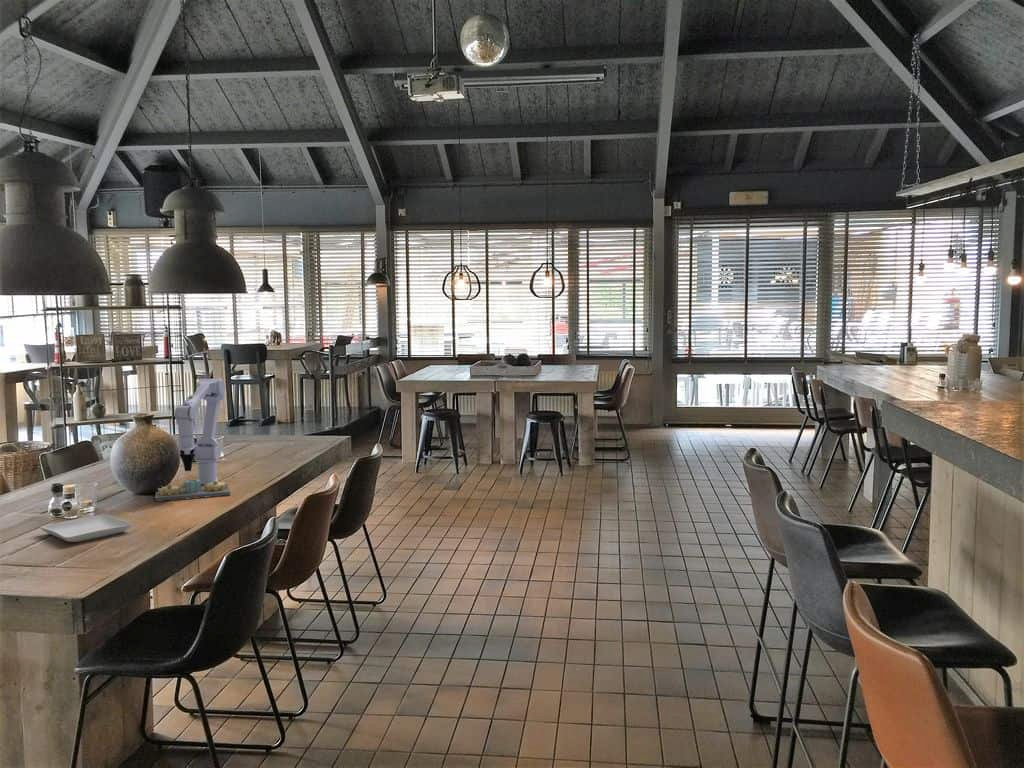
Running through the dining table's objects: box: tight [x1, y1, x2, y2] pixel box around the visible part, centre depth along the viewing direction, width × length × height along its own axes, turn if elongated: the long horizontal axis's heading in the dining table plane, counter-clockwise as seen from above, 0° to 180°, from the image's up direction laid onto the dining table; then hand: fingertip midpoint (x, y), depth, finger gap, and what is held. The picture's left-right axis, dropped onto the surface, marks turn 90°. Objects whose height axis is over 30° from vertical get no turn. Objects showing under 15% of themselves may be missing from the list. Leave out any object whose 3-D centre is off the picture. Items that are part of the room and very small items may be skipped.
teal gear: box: [184, 478, 202, 493], centre depth 317 cm, size 6×6×4 cm
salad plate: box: [40, 513, 133, 543], centre depth 264 cm, size 21×21×3 cm
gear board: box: [154, 480, 231, 501], centre depth 317 cm, size 14×27×5 cm, turn 112°
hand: (187, 469), depth 321 cm, fingers open, 7 cm apart
